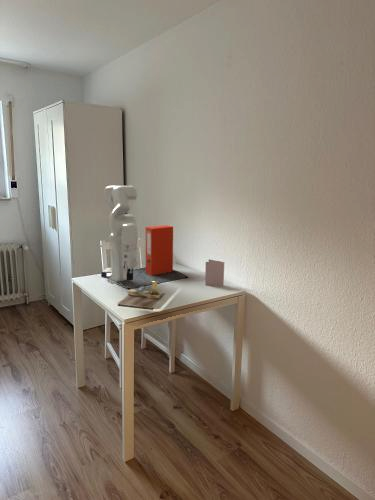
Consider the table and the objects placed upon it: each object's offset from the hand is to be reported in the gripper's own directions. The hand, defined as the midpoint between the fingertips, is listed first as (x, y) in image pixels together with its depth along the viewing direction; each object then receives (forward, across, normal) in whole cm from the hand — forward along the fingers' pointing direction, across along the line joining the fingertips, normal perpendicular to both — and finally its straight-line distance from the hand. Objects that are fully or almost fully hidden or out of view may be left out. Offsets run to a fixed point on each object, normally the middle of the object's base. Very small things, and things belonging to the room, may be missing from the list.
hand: (129, 279), depth 194 cm
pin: (+9, +3, -13) cm, 17 cm away
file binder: (+13, +54, +2) cm, 56 cm away
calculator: (+13, +38, +28) cm, 49 cm away
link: (+9, +2, -8) cm, 12 cm away
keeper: (+10, +3, -5) cm, 11 cm away
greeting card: (+12, +38, -40) cm, 56 cm away
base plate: (+11, -1, -8) cm, 14 cm away
